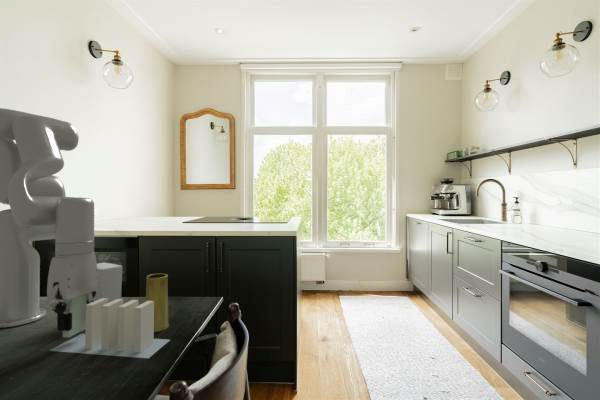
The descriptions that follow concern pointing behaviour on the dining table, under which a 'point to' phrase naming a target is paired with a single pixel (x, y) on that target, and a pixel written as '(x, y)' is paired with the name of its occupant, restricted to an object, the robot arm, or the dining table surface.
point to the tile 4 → (126, 325)
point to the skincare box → (109, 281)
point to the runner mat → (79, 347)
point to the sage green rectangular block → (77, 316)
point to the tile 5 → (143, 326)
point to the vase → (158, 299)
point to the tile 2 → (94, 323)
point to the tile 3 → (110, 324)
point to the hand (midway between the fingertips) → (74, 324)
